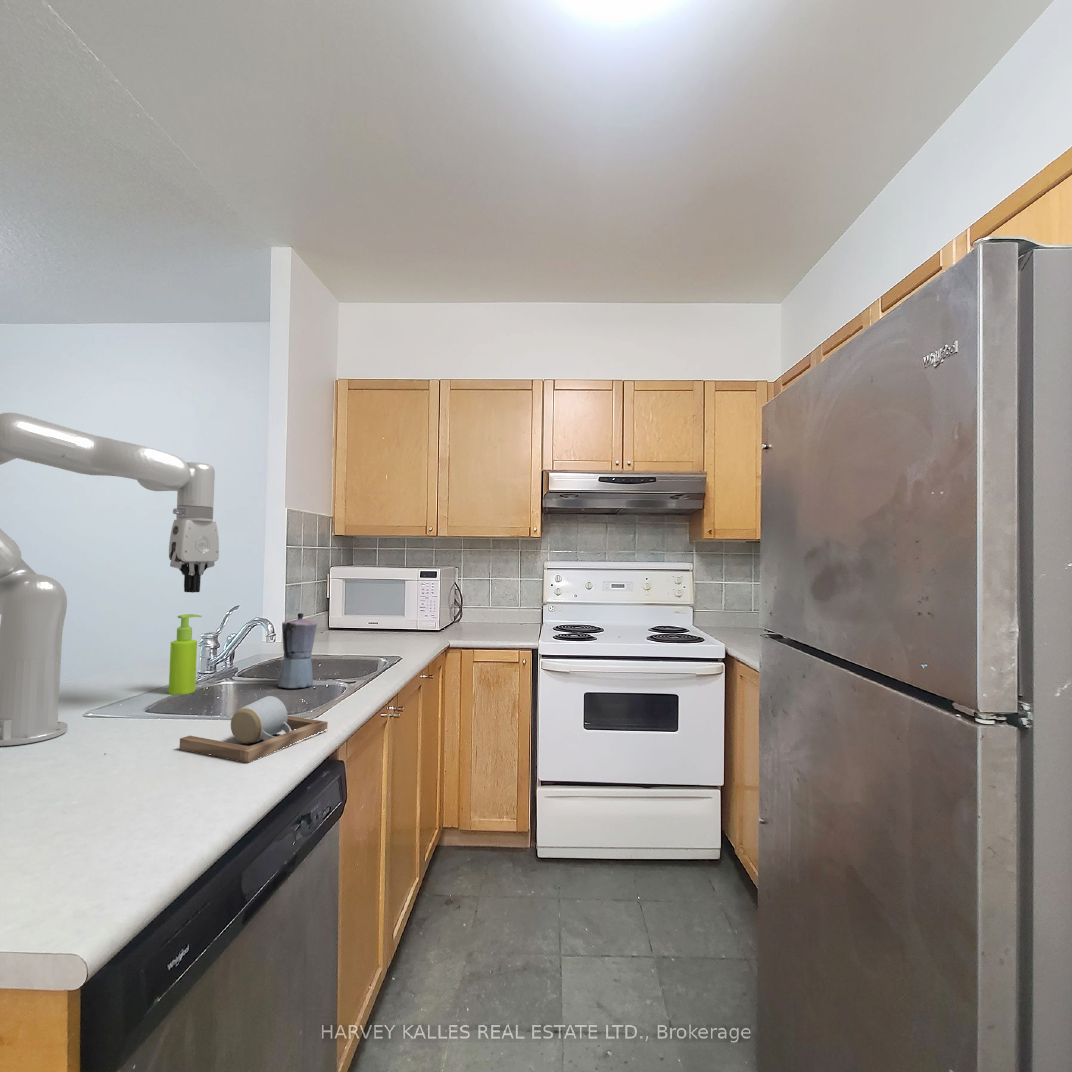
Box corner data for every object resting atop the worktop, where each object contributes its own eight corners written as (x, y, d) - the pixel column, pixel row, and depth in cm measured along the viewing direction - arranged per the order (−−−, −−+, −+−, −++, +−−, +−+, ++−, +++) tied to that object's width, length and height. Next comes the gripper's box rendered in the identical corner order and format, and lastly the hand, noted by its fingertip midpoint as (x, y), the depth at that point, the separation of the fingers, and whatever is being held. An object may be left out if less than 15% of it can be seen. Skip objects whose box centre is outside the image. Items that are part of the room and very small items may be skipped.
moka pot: (322, 680, 167) (325, 611, 168) (303, 693, 151) (305, 617, 152) (289, 680, 167) (291, 610, 167) (266, 693, 151) (268, 616, 152)
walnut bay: (248, 763, 102) (248, 751, 102) (179, 749, 108) (179, 738, 108) (327, 731, 120) (327, 721, 120) (264, 721, 126) (265, 712, 126)
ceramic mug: (226, 743, 112) (228, 703, 112) (256, 731, 120) (257, 693, 120) (273, 750, 109) (275, 709, 109) (300, 737, 117) (302, 698, 117)
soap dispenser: (203, 690, 152) (206, 614, 153) (176, 696, 146) (179, 616, 147) (191, 687, 155) (194, 612, 156) (163, 692, 149) (167, 615, 150)
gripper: (176, 512, 129) (173, 594, 129) (233, 517, 143) (230, 591, 143) (153, 512, 132) (150, 593, 132) (211, 517, 146) (208, 589, 145)
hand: (191, 591), depth 137 cm, fingers closed
